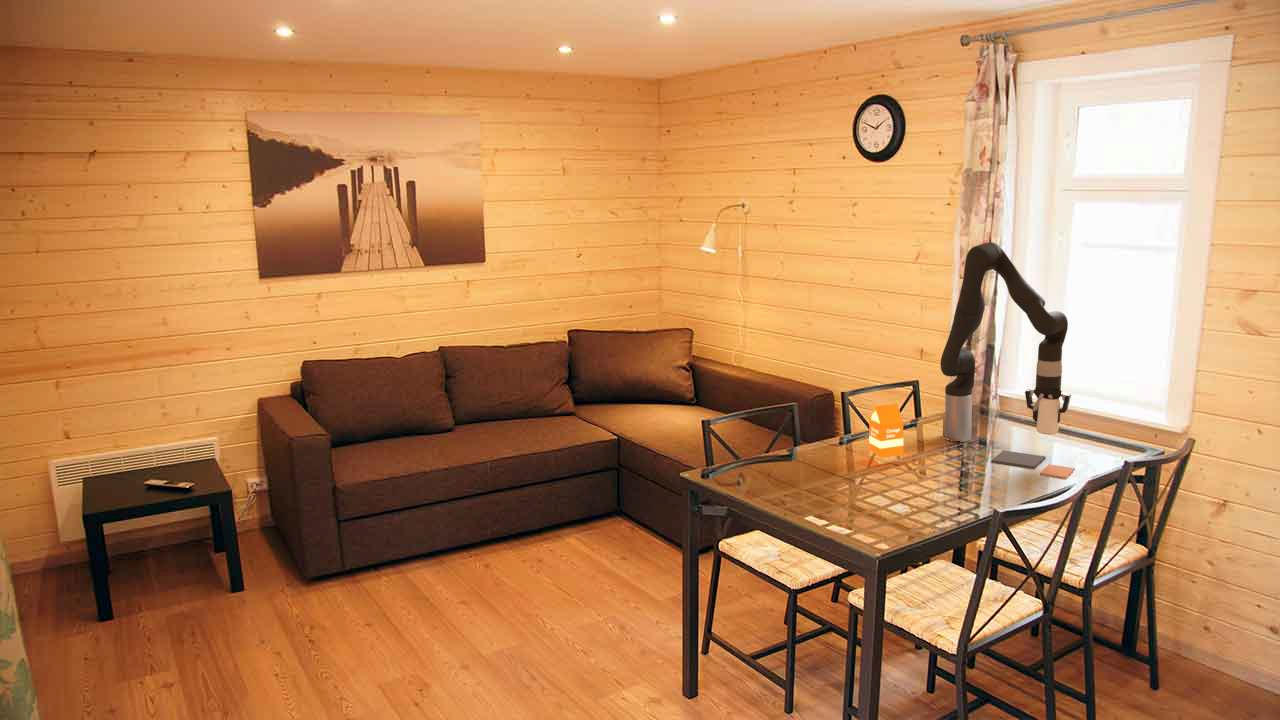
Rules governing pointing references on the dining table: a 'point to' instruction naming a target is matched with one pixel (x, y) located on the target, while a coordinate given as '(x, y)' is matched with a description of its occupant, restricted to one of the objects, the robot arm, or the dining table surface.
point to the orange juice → (886, 431)
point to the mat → (1019, 459)
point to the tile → (1057, 471)
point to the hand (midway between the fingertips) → (1046, 422)
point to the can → (1048, 416)
